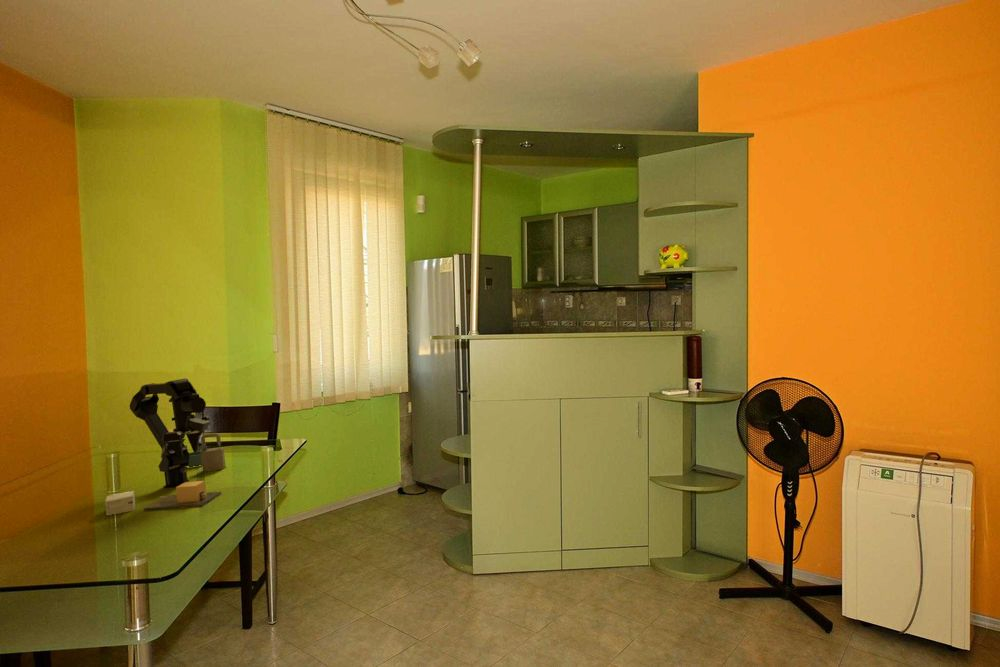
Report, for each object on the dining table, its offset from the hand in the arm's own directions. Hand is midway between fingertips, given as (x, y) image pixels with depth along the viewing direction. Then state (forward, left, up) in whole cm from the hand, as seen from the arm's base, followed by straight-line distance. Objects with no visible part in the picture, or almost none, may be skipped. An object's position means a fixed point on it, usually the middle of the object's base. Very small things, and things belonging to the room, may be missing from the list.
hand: (188, 454), depth 212 cm
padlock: (-4, +22, -12) cm, 26 cm away
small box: (-12, -21, -12) cm, 27 cm away
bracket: (-17, +32, -12) cm, 39 cm away
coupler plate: (+7, -18, -12) cm, 23 cm away
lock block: (+10, -18, -11) cm, 23 cm away
